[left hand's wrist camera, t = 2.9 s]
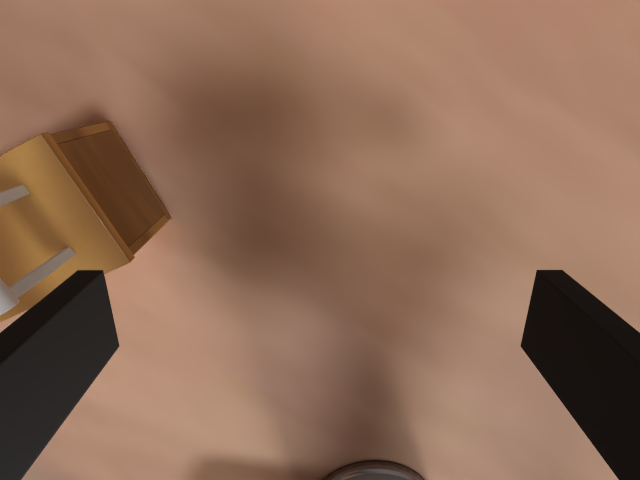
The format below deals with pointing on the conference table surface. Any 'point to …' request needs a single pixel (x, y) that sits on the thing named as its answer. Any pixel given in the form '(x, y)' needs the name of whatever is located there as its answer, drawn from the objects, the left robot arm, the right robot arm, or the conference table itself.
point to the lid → (48, 226)
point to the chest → (114, 181)
